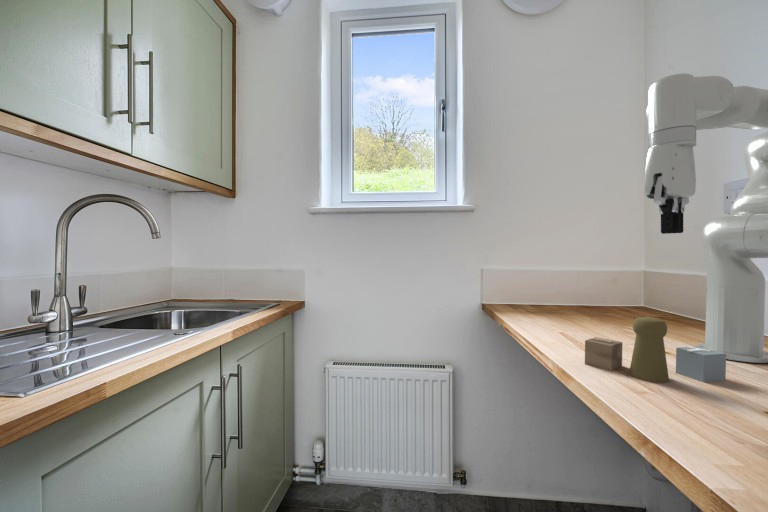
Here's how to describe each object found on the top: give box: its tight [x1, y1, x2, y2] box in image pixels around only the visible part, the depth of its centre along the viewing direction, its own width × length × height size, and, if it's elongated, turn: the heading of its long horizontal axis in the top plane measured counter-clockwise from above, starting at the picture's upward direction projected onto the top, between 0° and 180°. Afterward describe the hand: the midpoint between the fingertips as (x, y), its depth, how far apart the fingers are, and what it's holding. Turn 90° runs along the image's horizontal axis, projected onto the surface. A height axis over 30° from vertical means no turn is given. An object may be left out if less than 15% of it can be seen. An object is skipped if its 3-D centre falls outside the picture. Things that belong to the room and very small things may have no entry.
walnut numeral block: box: [584, 336, 623, 372], centre depth 74 cm, size 5×5×5 cm
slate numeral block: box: [675, 345, 727, 383], centre depth 68 cm, size 5×5×5 cm
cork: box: [628, 316, 670, 384], centre depth 67 cm, size 6×6×11 cm
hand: (671, 233), depth 73 cm, fingers closed
